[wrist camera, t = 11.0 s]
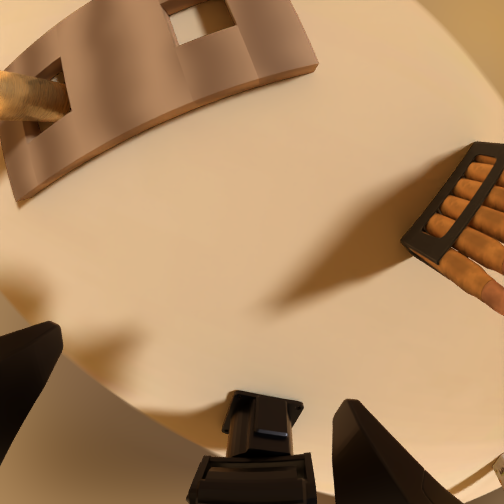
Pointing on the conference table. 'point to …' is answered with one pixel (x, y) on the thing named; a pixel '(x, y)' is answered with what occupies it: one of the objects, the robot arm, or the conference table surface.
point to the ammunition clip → (467, 225)
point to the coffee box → (500, 469)
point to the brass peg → (32, 98)
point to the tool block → (142, 76)
